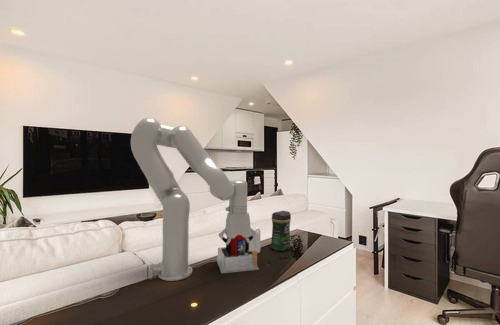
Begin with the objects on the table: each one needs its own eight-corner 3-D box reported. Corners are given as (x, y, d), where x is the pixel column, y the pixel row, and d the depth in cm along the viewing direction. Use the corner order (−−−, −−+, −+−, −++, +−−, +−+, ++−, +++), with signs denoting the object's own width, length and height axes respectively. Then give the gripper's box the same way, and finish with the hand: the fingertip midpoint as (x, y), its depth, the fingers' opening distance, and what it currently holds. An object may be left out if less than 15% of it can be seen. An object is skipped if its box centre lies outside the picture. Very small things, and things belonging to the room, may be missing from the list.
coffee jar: (281, 253, 121) (282, 213, 121) (268, 249, 127) (268, 211, 127) (293, 248, 128) (293, 211, 128) (280, 244, 134) (280, 208, 134)
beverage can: (243, 263, 103) (243, 234, 103) (227, 262, 105) (227, 232, 105) (246, 257, 110) (247, 229, 110) (231, 256, 111) (232, 228, 111)
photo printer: (241, 248, 127) (241, 223, 127) (248, 246, 130) (248, 222, 130) (254, 254, 119) (255, 227, 119) (261, 252, 122) (261, 226, 122)
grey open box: (221, 273, 99) (221, 255, 99) (216, 259, 112) (216, 243, 112) (258, 269, 103) (258, 251, 102) (249, 256, 116) (249, 241, 116)
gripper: (218, 212, 101) (218, 257, 102) (260, 210, 106) (259, 254, 106) (216, 208, 109) (215, 251, 109) (255, 207, 113) (254, 248, 113)
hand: (237, 252), depth 107 cm, fingers closed on beverage can, 6 cm apart
